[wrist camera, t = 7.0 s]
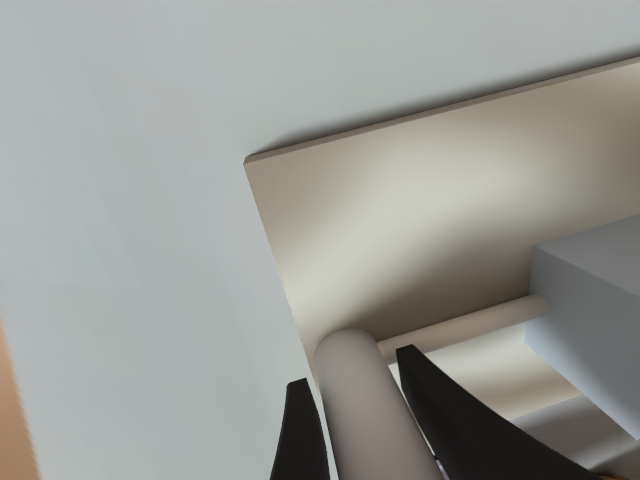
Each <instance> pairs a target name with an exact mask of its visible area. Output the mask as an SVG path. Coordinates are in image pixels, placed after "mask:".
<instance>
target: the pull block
mask: <svg viewBox="0 0 640 480" xmlns="http://www.w3.org/2000/svg"><path fill="white" fill-rule="evenodd" d="M523 322H526V324H525V334H524V343H525V344H527V345H528V346H529V347H530V348H531V349H532V350H534V351H535V352H536V353H537V354H538V355H539V356H540V357H542V358H543V359H544V360H545V361H546V362H547V363H548V364H550V365H551V366H552V367H553V368H554V369H555V370H556V371H558V372H559V373H560V374H561V375H562V376H563V377H565V378H566V379H567V380H568V381H569V382H570V383H571V384H573V385H574V386H575V387H576V388H577V389H578V390H579V391H581V392H582V393H583V394H584V395H585V396H586V397H588V398H589V399H590V400H591V401H592V402H593V403H594V404H596V405H597V406H598V407H599V408H600V409H601V410H602V411H604V412H605V413H606V414H607V415H608V416H609V417H610V418H612V419H613V420H614V421H615V422H616V423H617V424H619V425H620V426H621V427H622V428H623V429H624V430H625V431H627V432H628V433H629V434H630V435H631V436H632V437H633V438H635V439H636V440H637V441H638V440H640V214H638V215H634V216H631V217H628V218H624V219H621V220H618V221H614V222H611V223H607V224H604V225H601V226H597V227H594V228H591V229H587V230H584V231H580V232H577V233H574V234H570V235H567V236H564V237H560V238H557V239H553V240H550V241H547V242H543V243H540V244H537V245H533V255H532V265H531V275H530V285H529V294H528V296H524V297H521V298H518V299H515V300H511V301H508V302H505V303H502V304H499V305H495V306H492V307H489V308H486V309H482V310H479V311H476V312H473V313H470V314H466V315H463V316H460V317H457V318H453V319H450V320H447V321H444V322H441V323H437V324H434V325H431V326H428V327H424V328H421V329H418V330H415V331H412V332H408V333H405V334H402V335H399V336H395V337H392V338H389V339H386V340H383V341H379V342H377V343H376V341H375V339H374V338H373V336H372V335H371V334H370V333H368V332H367V331H365V330H362V329H358V328H345V329H341V330H338V331H335V332H333V333H331V334H329V335H328V336H326V337H325V338H324V339H323V340H322V341H321V342H320V343H319V344H318V346H317V348H316V350H315V352H314V358H313V359H314V365H315V370H316V375H317V379H318V384H319V389H320V393H321V398H322V403H323V408H324V412H325V417H326V422H327V426H328V431H329V436H330V440H331V445H332V450H333V454H334V459H335V464H336V468H337V473H338V478H339V480H445V478H444V476H443V474H442V472H441V470H440V468H439V466H438V464H437V462H436V460H435V458H434V456H433V454H432V452H431V450H430V448H429V446H428V444H427V442H426V440H425V438H424V436H423V434H422V432H421V430H420V428H419V426H418V424H417V422H416V420H415V418H414V416H413V414H412V412H411V410H410V408H409V406H408V404H407V402H406V400H405V398H404V396H403V395H402V393H401V391H400V389H399V387H398V385H397V383H396V381H395V379H394V377H393V375H392V373H391V371H390V369H389V367H388V365H391V364H394V363H397V356H396V349H397V348H400V347H404V346H407V345H410V344H413V345H415V346H416V347H417V348H418V349H419V350H420V351H421V352H422V353H423V354H425V353H428V352H432V351H435V350H438V349H441V348H444V347H447V346H451V345H454V344H457V343H460V342H463V341H466V340H469V339H473V338H476V337H479V336H482V335H485V334H488V333H491V332H495V331H498V330H501V329H504V328H507V327H510V326H513V325H517V324H520V323H523Z"/></svg>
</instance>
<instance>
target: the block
mask: <svg viewBox="0 0 640 480" xmlns="http://www.w3.org/2000/svg"><path fill="white" fill-rule="evenodd" d="M600 477H602V478H603V479H605V480H629V479H627V478H625V477H622V476H617V475H609V476H600Z"/></svg>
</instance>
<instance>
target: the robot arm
mask: <svg viewBox="0 0 640 480" xmlns="http://www.w3.org/2000/svg"><path fill="white" fill-rule="evenodd" d="M396 356H397V363H398V369H399V376H400V382H401V388H402V391H403V393H404V395H405V398H406V400H407V402H408V404H409V407H410V409H411V411H412V413H413V415H414V418H415V419H416V421H417V423H418V425H419V427H420V428H421V430H422V432H423V434H424V435H425V437H426V439H427V441H428V443H429V444H430V446H431V448H432V450H433V451H434V453H435V455H436V457H437V458H438V460H436V462H437V464H438V466H439V468H440V470H441V472H442V474H443V476H444V478H445V480H605V479H603V478H602V477H600V476H598V475H596V474H594V473H593V472H591V471H589V470H587V469H586V468H584V467H582V466H580V465H579V464H577V463H575V462H573V461H571V460H570V459H568V458H566V457H564V456H563V455H561V454H559V453H557V452H556V451H554V450H553V449H551V448H549V447H548V446H546V445H544V444H543V443H541V442H540V441H538V440H536V439H535V438H533V437H532V436H530V435H529V434H527V433H526V432H524V431H522V430H521V429H519V428H518V427H516V426H515V425H513V424H512V423H510V422H509V421H507V420H506V419H505V418H503V417H502V416H500V415H499V414H497V413H496V412H495V411H493V410H492V409H491V408H489V407H488V406H486V405H485V404H484V403H482V402H481V401H480V400H478V399H477V398H476V397H474V396H473V395H472V394H470V393H469V392H468V391H467V390H465V389H464V388H463V387H462V386H460V385H459V384H458V383H457V382H455V381H454V380H453V379H452V378H451V377H449V376H448V375H447V374H446V373H445V372H443V371H442V370H441V369H440V368H439V367H438V366H436V365H435V364H434V363H433V362H432V361H431V360H430V359H429V358H427V357H426V356H425V355H424V354H423V353H422V352H421V351H420V350H419V349H418V348H417V347H416V346H415V345H413V344H410V345H407V346H404V347H400V348H397V349H396ZM270 480H330V474H329V466H328V458H327V451H326V445H325V440H324V436H323V431H322V426H321V422H320V417H319V414H318V411H317V408H316V405H315V402H314V399H313V396H312V393H311V390H310V387H309V385H308V382H307V379H306V378H303V379H300V380H297V381H294V382H290V383H289V384H288V385H287V391H286V402H285V409H284V416H283V422H282V428H281V432H280V437H279V442H278V447H277V452H276V456H275V461H274V464H273V468H272V472H271V476H270Z"/></svg>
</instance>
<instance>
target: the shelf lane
mask: <svg viewBox="0 0 640 480" xmlns="http://www.w3.org/2000/svg"><path fill="white" fill-rule="evenodd" d="M243 165H244V168H245V171H246V174H247V177H248V180H249V183H250V186H251V189H252V192H253V196H254V199H255V202H256V205H257V208H258V211H259V214H260V217H261V220H262V223H263V226H264V229H265V232H266V235H267V238H268V241H269V244H270V247H271V250H272V253H273V256H274V259H275V263H276V266H277V269H278V272H279V275H280V278H281V281H282V284H283V287H284V290H285V293H286V296H287V299H288V302H289V305H290V308H291V311H292V314H293V317H294V320H295V323H296V327H297V330H298V333H299V336H300V339H301V342H302V345H303V348H304V351H305V354H306V357H307V360H308V363H309V366H310V369H311V372H312V375H313V378H314V381H315V384H316V387H317V390H318V394H319V397H320V400H321V403H322V398H321V393H320V389H319V384H318V379H317V375H316V370H315V365H314V359H313V358H314V352H315V350H316V348H317V346H318V344H319V343H320V342H321V341H322V340H323V339H324V338H325V337H326V336H328V335H329V334H331V333H333V332H335V331H338V330H341V329H345V328H358V329H362V330H365V331H367V332H368V333H370V334H371V335H372V336H373V338H374V339H375V341H376V343H377V342H379V341H383V340H386V339H389V338H392V337H395V336H399V335H402V334H405V333H408V332H412V331H415V330H418V329H421V328H424V327H428V326H431V325H434V324H437V323H441V322H444V321H447V320H450V319H453V318H457V317H460V316H463V315H466V314H470V313H473V312H476V311H479V310H482V309H486V308H489V307H492V306H495V305H499V304H502V303H505V302H508V301H511V300H515V299H518V298H521V297H524V296H528V294H529V285H530V275H531V265H532V255H533V245H537V244H540V243H543V242H547V241H550V240H553V239H557V238H560V237H564V236H567V235H570V234H574V233H577V232H580V231H584V230H587V229H591V228H594V227H597V226H601V225H604V224H607V223H611V222H614V221H618V220H621V219H624V218H628V217H631V216H634V215H638V214H640V56H639V57H635V58H631V59H627V60H623V61H619V62H615V63H611V64H607V65H604V66H600V67H596V68H592V69H588V70H584V71H580V72H576V73H572V74H568V75H564V76H561V77H557V78H553V79H549V80H545V81H541V82H537V83H533V84H529V85H525V86H521V87H518V88H514V89H510V90H506V91H502V92H498V93H494V94H490V95H486V96H482V97H479V98H475V99H471V100H467V101H463V102H459V103H455V104H451V105H447V106H443V107H439V108H436V109H432V110H428V111H424V112H420V113H416V114H412V115H408V116H404V117H400V118H396V119H393V120H389V121H385V122H381V123H377V124H373V125H369V126H365V127H361V128H357V129H353V130H350V131H346V132H342V133H338V134H334V135H330V136H326V137H322V138H318V139H314V140H310V141H307V142H303V143H299V144H295V145H291V146H287V147H283V148H279V149H275V150H271V151H267V152H264V153H260V154H256V155H252V156H248V157H246V158H245V161H244V163H243ZM525 324H526V322H523V323H520V324H517V325H513V326H510V327H507V328H504V329H501V330H498V331H495V332H491V333H488V334H485V335H482V336H479V337H476V338H473V339H469V340H466V341H463V342H460V343H457V344H454V345H451V346H447V347H444V348H441V349H438V350H435V351H432V352H428V353H425V354H424V355H425V356H426V357H427V358H429V359H430V360H431V361H432V362H433V363H434V364H435V365H436V366H438V367H439V368H440V369H441V370H442V371H443V372H445V373H446V374H447V375H448V376H449V377H451V378H452V379H453V380H454V381H455V382H457V383H458V384H459V385H460V386H462V387H463V388H464V389H465V390H467V391H468V392H469V393H470V394H472V395H473V396H474V397H476V398H477V399H478V400H480V401H481V402H482V403H484V404H485V405H486V406H488V407H489V408H491V409H492V410H493V411H495V412H496V413H497V414H499V415H500V416H502V417H503V418H505V419H506V420H507V421H508V420H511V419H514V418H517V417H520V416H522V415H525V414H528V413H531V412H534V411H537V410H540V409H543V408H545V407H548V406H551V405H554V404H557V403H560V402H563V401H566V400H568V399H571V398H574V397H577V396H580V395H583V393H582V392H581V391H579V390H578V389H577V388H576V387H575V386H574V385H573V384H571V383H570V382H569V381H568V380H567V379H566V378H565V377H563V376H562V375H561V374H560V373H559V372H558V371H556V370H555V369H554V368H553V367H552V366H551V365H550V364H548V363H547V362H546V361H545V360H544V359H543V358H542V357H540V356H539V355H538V354H537V353H536V352H535V351H534V350H532V349H531V348H530V347H529V346H528V345H527V344H525V343H524V334H525ZM388 367H389V369H390V371H391V373H392V375H393V377H394V379H395V381H396V383H397V385H398V387H399V389H400V391H401V393H402V395H403V396H404V398H405V395H404V393H403V391H402V388H401V382H400V376H399V369H398V363H394V364H391V365H388ZM405 400H406V398H405ZM406 402H407V400H406ZM407 404H408V402H407ZM322 406H323V403H322ZM408 406H409V404H408ZM409 408H410V407H409ZM323 409H324V408H323ZM410 410H411V409H410ZM411 412H412V411H411ZM412 414H413V413H412ZM413 416H414V415H413ZM415 420H416V419H415ZM416 422H417V421H416ZM417 424H418V423H417ZM418 426H419V425H418ZM419 428H420V427H419ZM420 430H421V428H420ZM421 432H422V430H421ZM422 434H423V432H422ZM423 436H424V438H425V440H426V442H427V444H428V446H429V448H430V447H431V446H430V444H429V443H428V441H427V439H426V437H425V435H424V434H423Z"/></svg>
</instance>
